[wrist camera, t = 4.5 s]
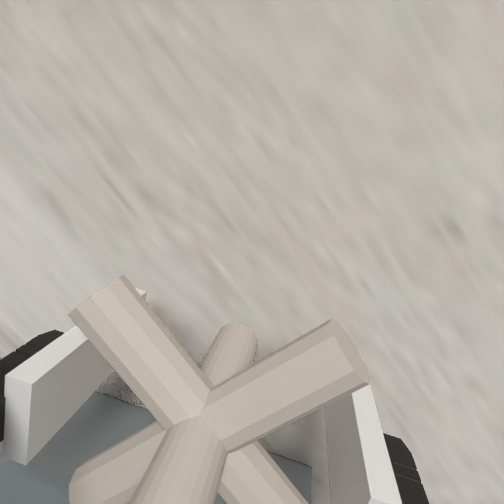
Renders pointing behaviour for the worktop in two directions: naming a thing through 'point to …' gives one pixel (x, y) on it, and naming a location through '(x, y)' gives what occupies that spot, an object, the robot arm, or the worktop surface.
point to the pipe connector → (205, 406)
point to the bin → (91, 444)
